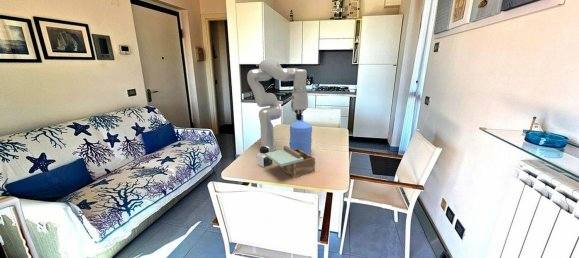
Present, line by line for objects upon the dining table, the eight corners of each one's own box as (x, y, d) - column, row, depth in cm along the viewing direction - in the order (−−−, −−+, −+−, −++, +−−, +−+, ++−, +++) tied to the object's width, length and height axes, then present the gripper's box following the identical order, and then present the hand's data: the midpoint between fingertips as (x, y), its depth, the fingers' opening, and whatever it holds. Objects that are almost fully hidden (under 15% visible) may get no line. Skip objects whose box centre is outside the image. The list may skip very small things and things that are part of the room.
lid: (265, 155, 144) (265, 149, 143) (286, 150, 152) (286, 144, 151) (280, 166, 129) (280, 160, 128) (303, 160, 137) (303, 154, 136)
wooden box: (278, 166, 151) (278, 153, 149) (297, 161, 159) (297, 148, 156) (294, 177, 137) (294, 163, 134) (314, 171, 144) (315, 157, 142)
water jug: (309, 157, 164) (311, 118, 156) (287, 156, 167) (287, 117, 159) (312, 149, 179) (313, 113, 171) (291, 148, 182) (292, 112, 174)
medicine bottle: (263, 167, 149) (263, 150, 146) (257, 164, 154) (256, 146, 151) (272, 164, 154) (272, 147, 150) (266, 161, 159) (265, 144, 155)
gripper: (292, 92, 136) (291, 122, 141) (313, 90, 144) (311, 119, 149) (285, 90, 142) (285, 119, 147) (306, 88, 150) (304, 117, 155)
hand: (298, 119), depth 148 cm, fingers closed
